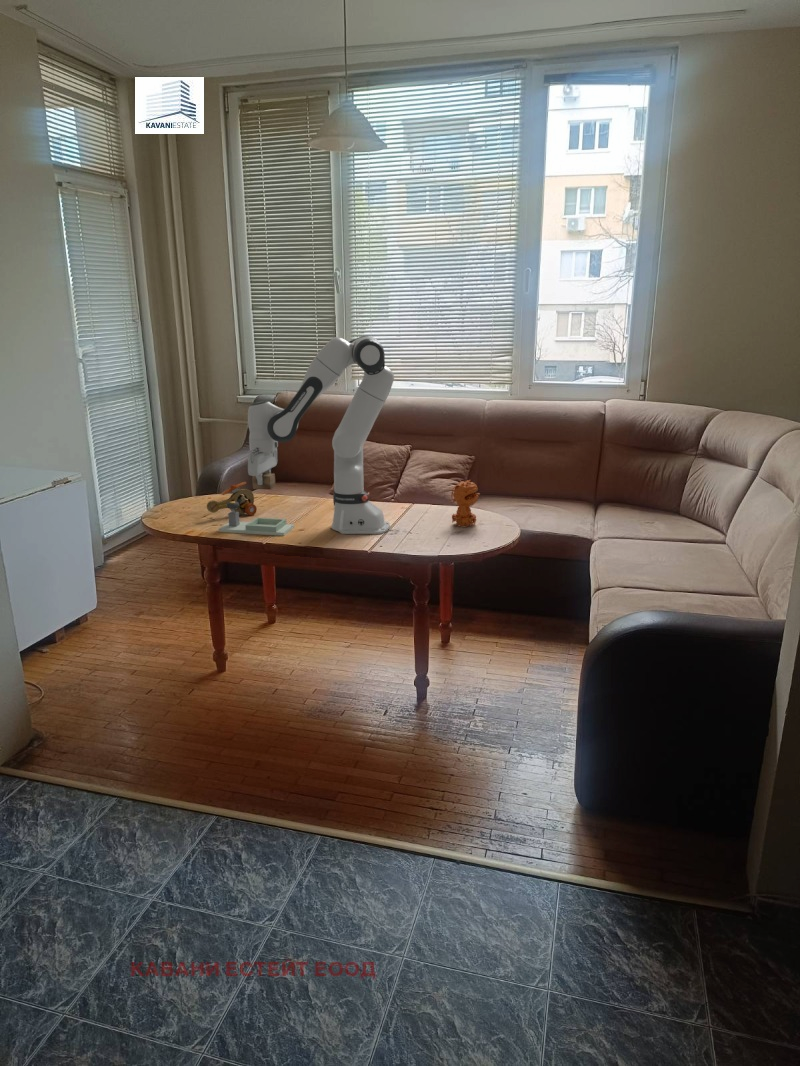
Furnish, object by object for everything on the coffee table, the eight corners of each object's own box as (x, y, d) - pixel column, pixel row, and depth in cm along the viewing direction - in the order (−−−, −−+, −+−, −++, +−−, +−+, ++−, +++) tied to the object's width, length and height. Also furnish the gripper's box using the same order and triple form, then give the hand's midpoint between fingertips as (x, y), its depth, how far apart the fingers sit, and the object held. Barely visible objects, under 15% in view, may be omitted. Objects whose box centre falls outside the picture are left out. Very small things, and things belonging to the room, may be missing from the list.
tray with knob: (294, 527, 275) (293, 511, 273) (284, 535, 264) (283, 519, 263) (230, 523, 280) (229, 508, 278) (218, 531, 269) (217, 516, 268)
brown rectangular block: (275, 486, 268) (274, 473, 267) (270, 489, 264) (269, 476, 262) (257, 485, 269) (256, 472, 268) (252, 488, 265) (251, 475, 263)
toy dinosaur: (479, 529, 272) (480, 482, 267) (450, 528, 273) (451, 482, 268) (478, 521, 283) (479, 476, 278) (450, 520, 284) (451, 476, 278)
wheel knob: (241, 514, 274) (240, 500, 272) (236, 517, 270) (235, 503, 268) (230, 514, 275) (229, 500, 273) (225, 517, 271) (224, 503, 269)
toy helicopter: (259, 514, 294) (257, 481, 290) (214, 523, 280) (211, 489, 276) (248, 510, 299) (246, 478, 295) (203, 519, 286) (201, 486, 282)
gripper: (259, 451, 252) (261, 489, 256) (279, 441, 271) (281, 477, 275) (242, 450, 253) (244, 488, 257) (263, 441, 272) (265, 476, 276)
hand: (263, 482), depth 266 cm, fingers closed on brown rectangular block, 5 cm apart
